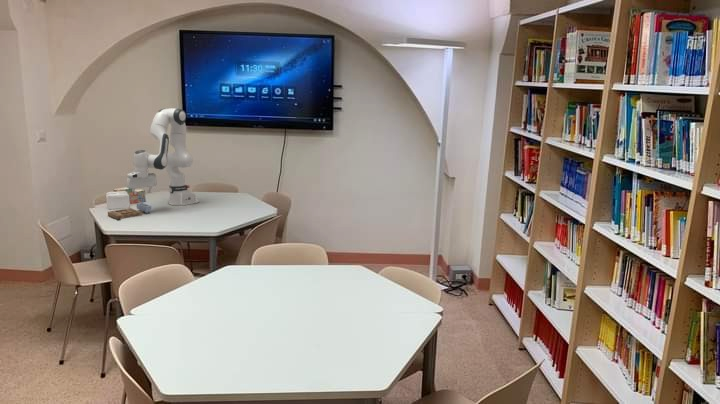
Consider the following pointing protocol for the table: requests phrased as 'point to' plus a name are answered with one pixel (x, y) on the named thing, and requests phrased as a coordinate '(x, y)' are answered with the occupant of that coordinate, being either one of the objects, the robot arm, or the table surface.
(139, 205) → the strip
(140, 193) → the stack of blocks
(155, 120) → the robot arm
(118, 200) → the cable organizer
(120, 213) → the board
